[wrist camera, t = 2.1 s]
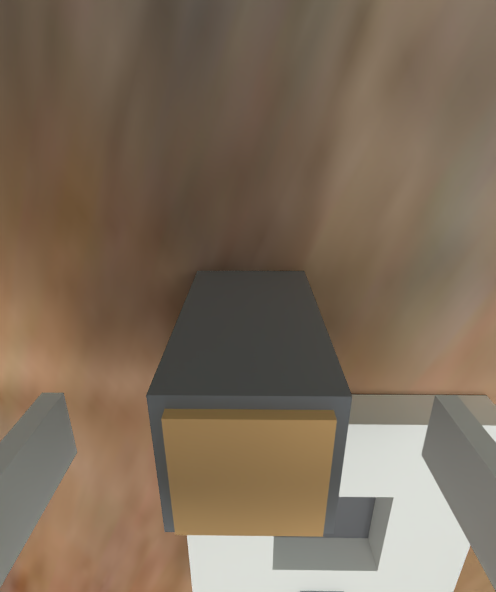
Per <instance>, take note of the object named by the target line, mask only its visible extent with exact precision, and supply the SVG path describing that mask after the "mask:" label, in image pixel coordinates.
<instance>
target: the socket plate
mask: <svg viewBox="0 0 496 592" xmlns="http://www.w3.org/2000/svg"><path fill="white" fill-rule="evenodd" d="M457 396H458V397H459V398H460V399H461V401H462V402H463V403H464V404H465V405H466V407H467V408H468V409H469V410H470V412H471V413H472V414H473V415H474V417H475V418H476V419H477V420H478V421H479V423H480V424H481V425H482V426H483V428H484V429H485V430H486V431H487V432H488V434H489V435H490V436H491V437H492V439H493V440H494V441H495V442H496V405H495V404H494V403H493V402H492V401H491V400H490V399H489V398H488V396H487V395H457ZM434 398H435V395H356V394H352V403H351V410H350V417H349V425H348V432H347V439H346V447H345V454H344V461H343V469H342V476H341V483H340V490H339V498H338V505H337V512H336V520H335V527H334V534H323V537H309V536H217V535H187V540H188V550H189V560H190V570H191V580H192V590H193V592H453V591H454V588H455V586H456V583H457V580H458V577H459V575H460V572H461V569H462V567H463V564H464V561H465V558H466V556H467V553H468V550H469V547H470V543H469V542H468V540H467V538H466V536H465V534H464V532H463V531H462V529H461V527H460V525H459V523H458V521H457V519H456V518H455V516H454V514H453V512H452V510H451V508H450V507H449V505H448V503H447V501H446V499H445V497H444V496H443V494H442V492H441V490H440V488H439V486H438V485H437V483H436V481H435V479H434V477H433V475H432V474H431V472H430V470H429V468H428V466H427V464H426V463H425V461H424V459H423V457H422V455H421V454H422V449H423V445H424V441H425V436H426V432H427V428H428V423H429V419H430V415H431V410H432V406H433V402H434Z"/></svg>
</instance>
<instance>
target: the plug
mask: <svg viewBox="0 0 496 592" xmlns="http://www.w3.org/2000/svg"><path fill="white" fill-rule="evenodd" d="M146 397H147V404H148V411H149V419H150V426H151V433H152V441H153V448H154V456H155V463H156V470H157V478H158V485H159V492H160V500H161V507H162V515H163V522H164V529H165V532H175V535H217V536H309V537H323V534H334V527H335V520H336V512H337V505H338V498H339V490H340V483H341V476H342V469H343V461H344V454H345V447H346V439H347V432H348V425H349V417H350V410H351V403H352V394H351V392H350V389H349V387H348V384H347V381H346V379H345V376H344V374H343V371H342V368H341V366H340V363H339V361H338V358H337V355H336V353H335V350H334V347H333V345H332V342H331V340H330V337H329V334H328V332H327V329H326V327H325V324H324V321H323V319H322V316H321V314H320V311H319V308H318V306H317V303H316V301H315V298H314V295H313V293H312V290H311V287H310V285H309V282H308V280H307V277H306V274H305V272H304V271H197V273H196V276H195V278H194V281H193V283H192V285H191V288H190V290H189V293H188V295H187V298H186V300H185V302H184V305H183V307H182V310H181V312H180V315H179V317H178V319H177V322H176V324H175V327H174V329H173V332H172V334H171V336H170V339H169V341H168V344H167V346H166V349H165V351H164V353H163V356H162V358H161V361H160V363H159V366H158V368H157V371H156V373H155V375H154V378H153V380H152V383H151V385H150V388H149V390H148V392H147V395H146Z"/></svg>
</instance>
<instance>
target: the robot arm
mask: <svg viewBox="0 0 496 592" xmlns="http://www.w3.org/2000/svg"><path fill="white" fill-rule="evenodd" d="M76 454H77V449H76V445H75V440H74V436H73V432H72V427H71V423H70V419H69V414H68V410H67V406H66V401H65V397H64V393H41V395H40V396H39V397H38V398H37V399H36V401H35V402H34V403H33V404H32V405H31V406H30V408H29V409H28V410H27V411H26V412H25V414H24V415H23V416H22V417H21V418H20V419H19V421H18V422H17V423H16V424H15V425H14V427H13V428H12V429H11V430H10V431H9V432H8V434H7V435H6V436H5V437H4V438H3V440H2V441H1V442H0V587H1V586H2V584H3V582H4V580H5V578H6V577H7V575H8V573H9V571H10V570H11V568H12V566H13V564H14V563H15V561H16V559H17V557H18V556H19V554H20V552H21V550H22V549H23V547H24V545H25V543H26V542H27V540H28V538H29V536H30V534H31V533H32V531H33V529H34V527H35V526H36V524H37V522H38V520H39V519H40V517H41V515H42V513H43V512H44V510H45V508H46V506H47V505H48V503H49V501H50V499H51V498H52V496H53V494H54V492H55V490H56V489H57V487H58V485H59V483H60V482H61V480H62V478H63V476H64V475H65V473H66V471H67V469H68V468H69V466H70V464H71V462H72V461H73V459H74V457H75V455H76ZM421 455H422V457H423V459H424V461H425V463H426V464H427V466H428V468H429V470H430V472H431V474H432V475H433V477H434V479H435V481H436V483H437V485H438V486H439V488H440V490H441V492H442V494H443V496H444V497H445V499H446V501H447V503H448V505H449V507H450V508H451V510H452V512H453V514H454V516H455V518H456V519H457V521H458V523H459V525H460V527H461V529H462V531H463V532H464V534H465V536H466V538H467V540H468V542H469V543H470V545H471V547H472V549H473V551H474V553H475V554H476V556H477V558H478V560H479V562H480V564H481V565H482V567H483V569H484V571H485V573H486V575H487V576H488V578H489V580H490V582H491V584H492V586H493V587H494V589H495V591H496V442H495V441H494V440H493V439H492V437H491V436H490V435H489V434H488V432H487V431H486V430H485V429H484V428H483V426H482V425H481V424H480V423H479V421H478V420H477V419H476V418H475V417H474V415H473V414H472V413H471V412H470V410H469V409H468V408H467V407H466V405H465V404H464V403H463V402H462V401H461V399H460V398H459V397H458V396H457V395H435V398H434V402H433V406H432V410H431V415H430V419H429V423H428V428H427V432H426V436H425V441H424V445H423V449H422V454H421Z"/></svg>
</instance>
